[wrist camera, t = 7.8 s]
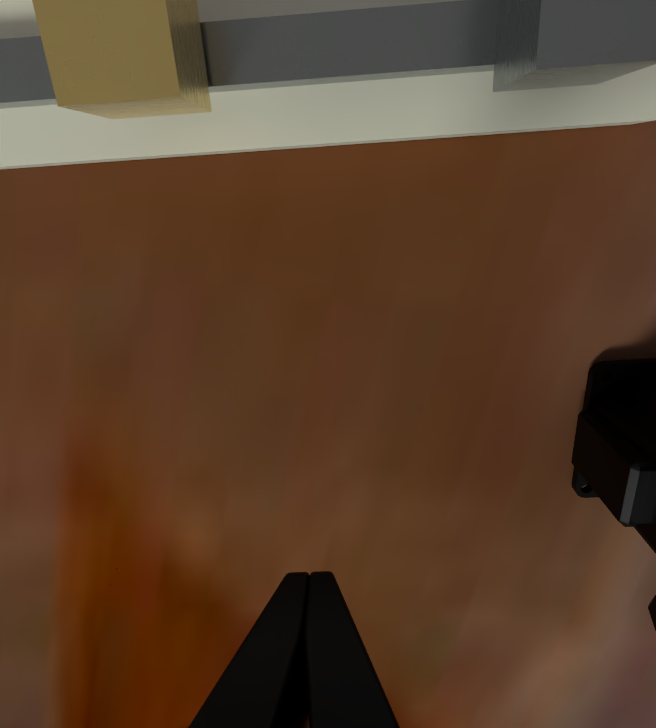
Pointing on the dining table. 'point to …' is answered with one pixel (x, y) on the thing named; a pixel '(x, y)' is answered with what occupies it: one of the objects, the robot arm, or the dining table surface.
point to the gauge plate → (310, 106)
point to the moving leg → (125, 56)
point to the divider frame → (399, 46)
